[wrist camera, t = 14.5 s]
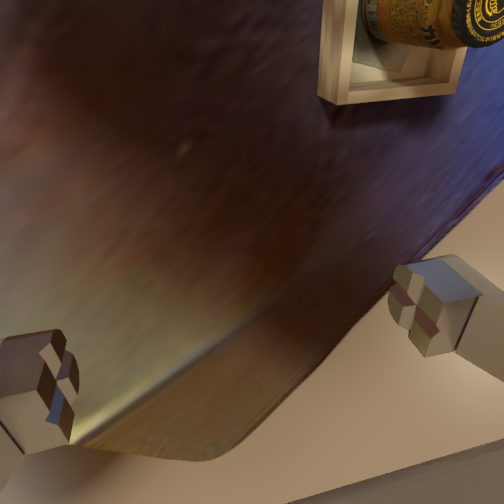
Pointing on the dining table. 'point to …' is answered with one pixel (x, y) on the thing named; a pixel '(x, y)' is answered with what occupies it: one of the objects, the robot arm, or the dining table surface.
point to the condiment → (423, 28)
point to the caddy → (372, 78)
